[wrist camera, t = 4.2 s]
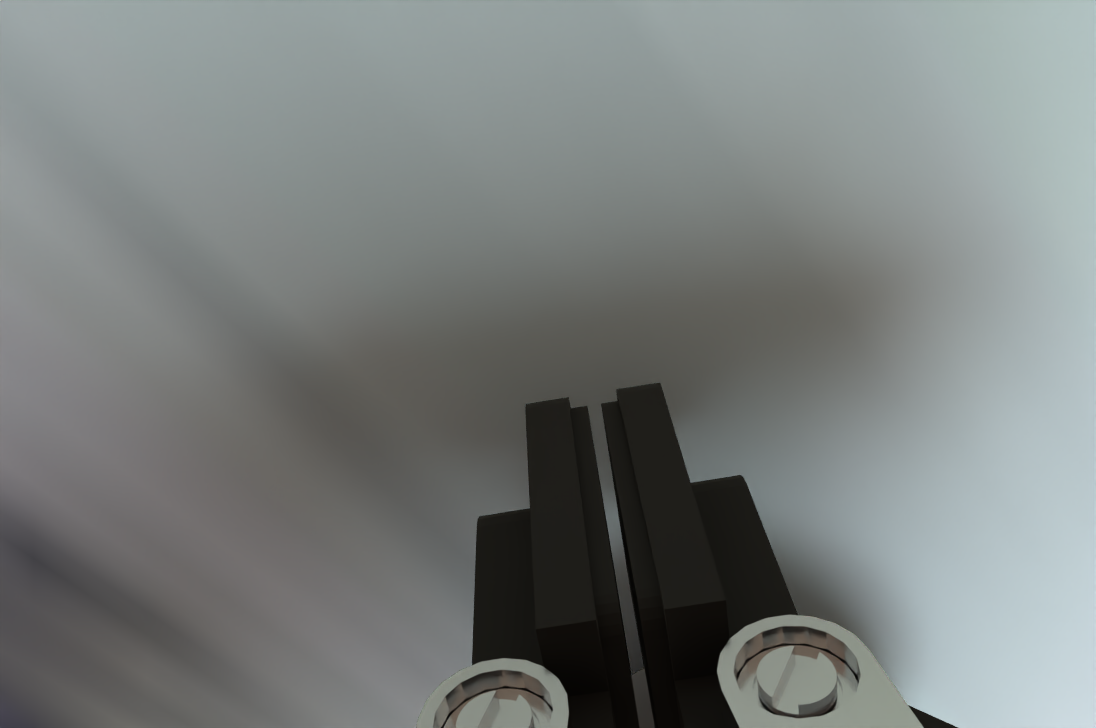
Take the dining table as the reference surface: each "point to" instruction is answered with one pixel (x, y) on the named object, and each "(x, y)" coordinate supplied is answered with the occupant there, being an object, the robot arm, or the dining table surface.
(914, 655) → the dining table surface
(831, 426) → the dining table surface
